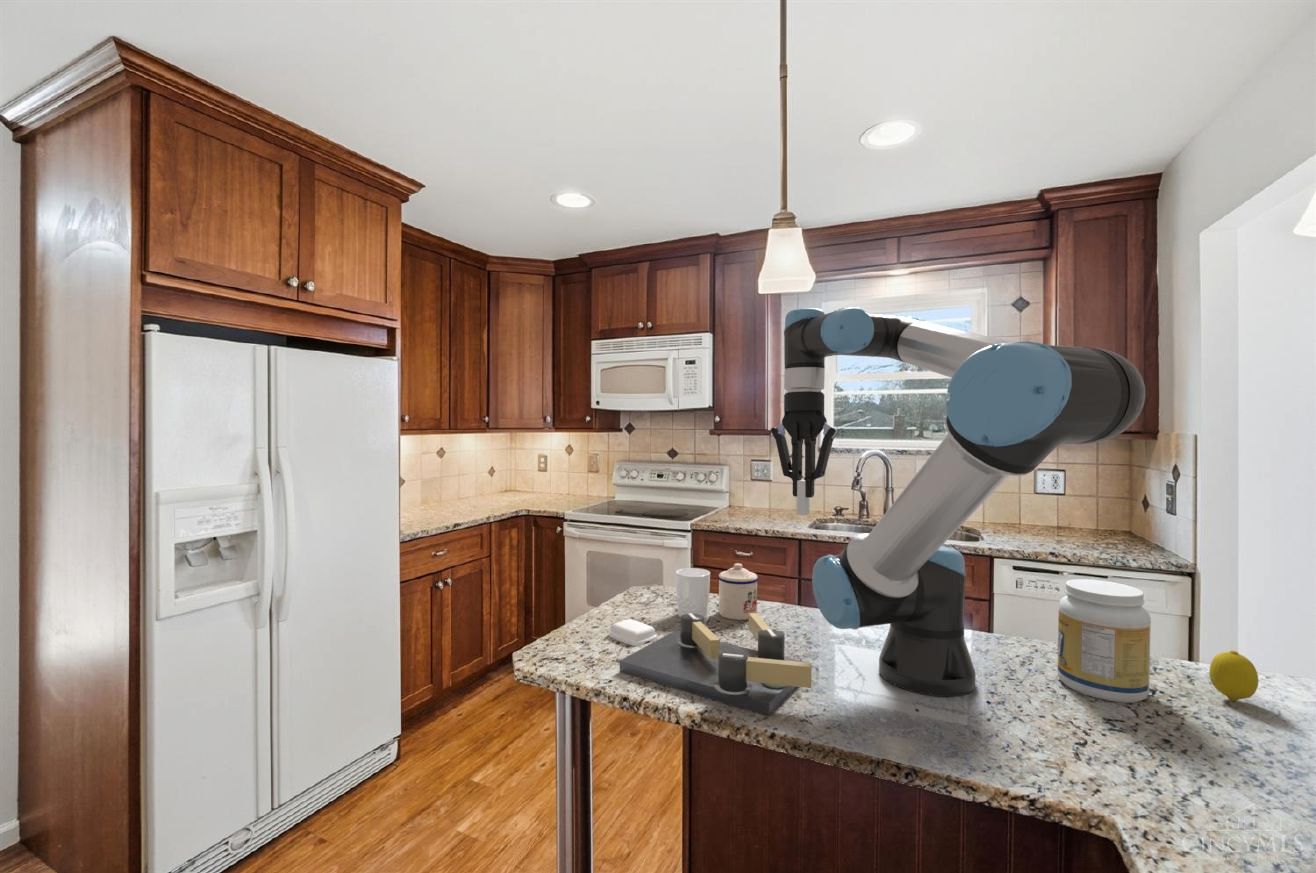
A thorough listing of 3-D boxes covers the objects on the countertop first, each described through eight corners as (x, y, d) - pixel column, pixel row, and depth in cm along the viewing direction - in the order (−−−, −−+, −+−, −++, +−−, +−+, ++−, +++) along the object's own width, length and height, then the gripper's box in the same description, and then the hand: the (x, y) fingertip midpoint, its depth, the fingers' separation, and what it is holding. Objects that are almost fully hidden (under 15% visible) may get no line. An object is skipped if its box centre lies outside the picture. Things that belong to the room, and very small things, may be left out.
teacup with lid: (750, 623, 129) (751, 570, 128) (712, 617, 133) (712, 566, 133) (766, 608, 139) (766, 559, 139) (730, 603, 143) (730, 555, 143)
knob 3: (716, 689, 91) (716, 659, 91) (720, 676, 96) (720, 648, 95) (811, 699, 88) (811, 668, 88) (810, 686, 92) (811, 656, 92)
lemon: (1249, 712, 89) (1250, 660, 89) (1202, 697, 94) (1203, 647, 94) (1264, 704, 92) (1265, 653, 92) (1217, 690, 97) (1218, 642, 96)
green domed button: (791, 681, 95) (791, 676, 95) (782, 690, 91) (782, 686, 91) (768, 675, 97) (768, 671, 97) (758, 684, 94) (758, 679, 94)
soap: (659, 640, 119) (659, 626, 119) (635, 649, 115) (635, 634, 114) (630, 629, 126) (630, 615, 126) (605, 637, 121) (605, 623, 121)
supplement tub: (1058, 667, 106) (1059, 573, 106) (1145, 684, 99) (1147, 584, 98) (1056, 691, 96) (1057, 588, 96) (1153, 713, 89) (1155, 602, 88)
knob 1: (677, 637, 113) (677, 613, 113) (699, 635, 115) (699, 611, 115) (702, 666, 100) (702, 638, 100) (727, 663, 101) (727, 636, 101)
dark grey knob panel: (810, 674, 102) (810, 662, 102) (766, 719, 86) (766, 704, 86) (674, 641, 118) (674, 630, 118) (616, 674, 102) (616, 662, 102)
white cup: (673, 620, 131) (673, 575, 130) (677, 609, 138) (678, 567, 138) (708, 622, 129) (708, 577, 129) (711, 611, 137) (711, 568, 137)
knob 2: (788, 663, 101) (788, 636, 101) (762, 664, 100) (762, 637, 100) (764, 634, 115) (764, 610, 115) (741, 635, 115) (741, 611, 115)
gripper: (844, 391, 112) (842, 514, 112) (779, 393, 119) (778, 509, 120) (832, 389, 106) (831, 519, 106) (764, 391, 113) (763, 513, 113)
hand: (803, 514), depth 113 cm, fingers closed
